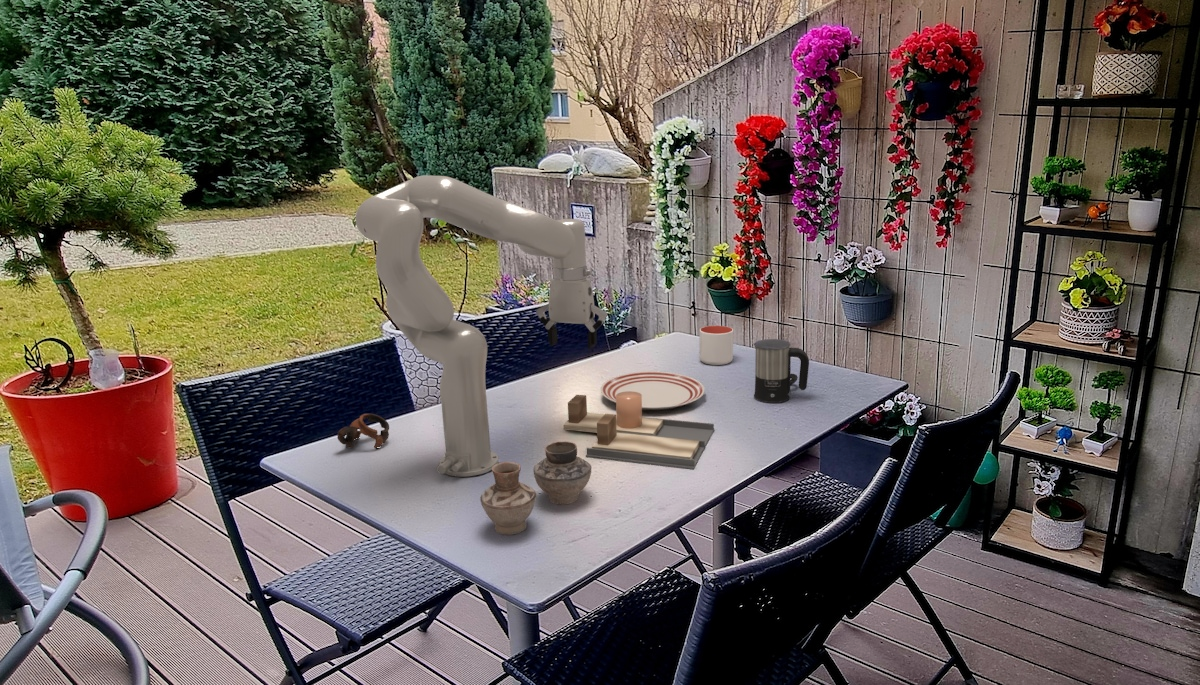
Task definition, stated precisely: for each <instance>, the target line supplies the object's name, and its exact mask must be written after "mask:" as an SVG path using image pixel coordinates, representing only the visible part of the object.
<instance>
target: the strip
mask: <svg viewBox="0 0 1200 685" xmlns="http://www.w3.org/2000/svg"><path fill="white" fill-rule="evenodd" d="M604 414H605V415H604V416H603V417H602V418H601V419H600V420H599V421H598V422H597V433H596V434H597V435H596V436H597V437H596V438H597V440H596V441H595V443H593V445H592V446H591V448H596V449H605V450H614V451H623V452H632V453H641V454H650V455H659V456H668V457H677V458H686V459H692V458H693V457H694V455H695V453H696V451H697V449H698V448H699V441H694V440H684V439H675V438H665V437H655V436H645V435H636V434H626V433H617V431H616V415H617V414H616V413H615V414H614V413H604Z"/></svg>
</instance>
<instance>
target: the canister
mask: <svg viewBox="0 0 1200 685" xmlns="http://www.w3.org/2000/svg"><path fill="white" fill-rule="evenodd" d="M615 406H616V407H615V408H616V409H615V410H616V413H615V414H616V415H617V425H618V426H619V427H621V428H637V427H639V426H641V425H642V417H643V410H642V395H641V394H640V393H638V392H632V391H627V392H621V393H618V394H617V395H616V403H615Z"/></svg>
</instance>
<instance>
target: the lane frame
mask: <svg viewBox="0 0 1200 685" xmlns="http://www.w3.org/2000/svg"><path fill="white" fill-rule="evenodd" d="M642 418H649V417H648V416H647V417H645V416H642ZM651 418H652V419H659V418H657V417H651ZM661 419H662V420H663V425H662V427H661V428H660V430H659V431H658V432H657V434H656V435H646V434H636V433H626V432H617V433H626V434H636V435H645V436H655V437H665V438H675V439H684V440H694V441H699V448H698V449H697V451H696V453H695V455H694V457H693V458H692V459H686V458H677V457H668V456H659V455H650V454H641V453H632V452H623V451H614V450H605V449H596V448H592V447H586V448H585V449H586V455H585V458H589V459H590V458H591V459H599V460H608V461H617V462H625V463H633V464H634V463H636V464H641V463H642V464H643V465H650V464H651V465H652V466H659V465H660V467H661V466H662V467H668V468H669V467H670V468H677V469H678V468H679V469H685V470H687V469H688V470H694V469H695V467H696V466H697V463H699V462H698V461H699V460H700V458H701V456H702V454H703V452H704V450H705V448H706V447H705V446H707V445H706V444H708V443H709V441H710V439H711V437H712V436H713V433H714V431H715V424H714V423H709V422H708V423H707V422H701V421H699V422H698V421H689V420H687V421H686V420H678V419H668V418H661ZM707 442H708V443H707Z"/></svg>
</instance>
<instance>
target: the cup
mask: <svg viewBox="0 0 1200 685" xmlns="http://www.w3.org/2000/svg"><path fill="white" fill-rule="evenodd" d="M698 353H699V355H698V356H699V360H700V362H702V363H703V364H706V365H710V366H724V365H727V364H729V363H731V362H732V361H733V360H734V328H731V327H730V326H726V325H725V326H724V325H707V326H703V327H702V326H701V327H700V328H699V352H698Z"/></svg>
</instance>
